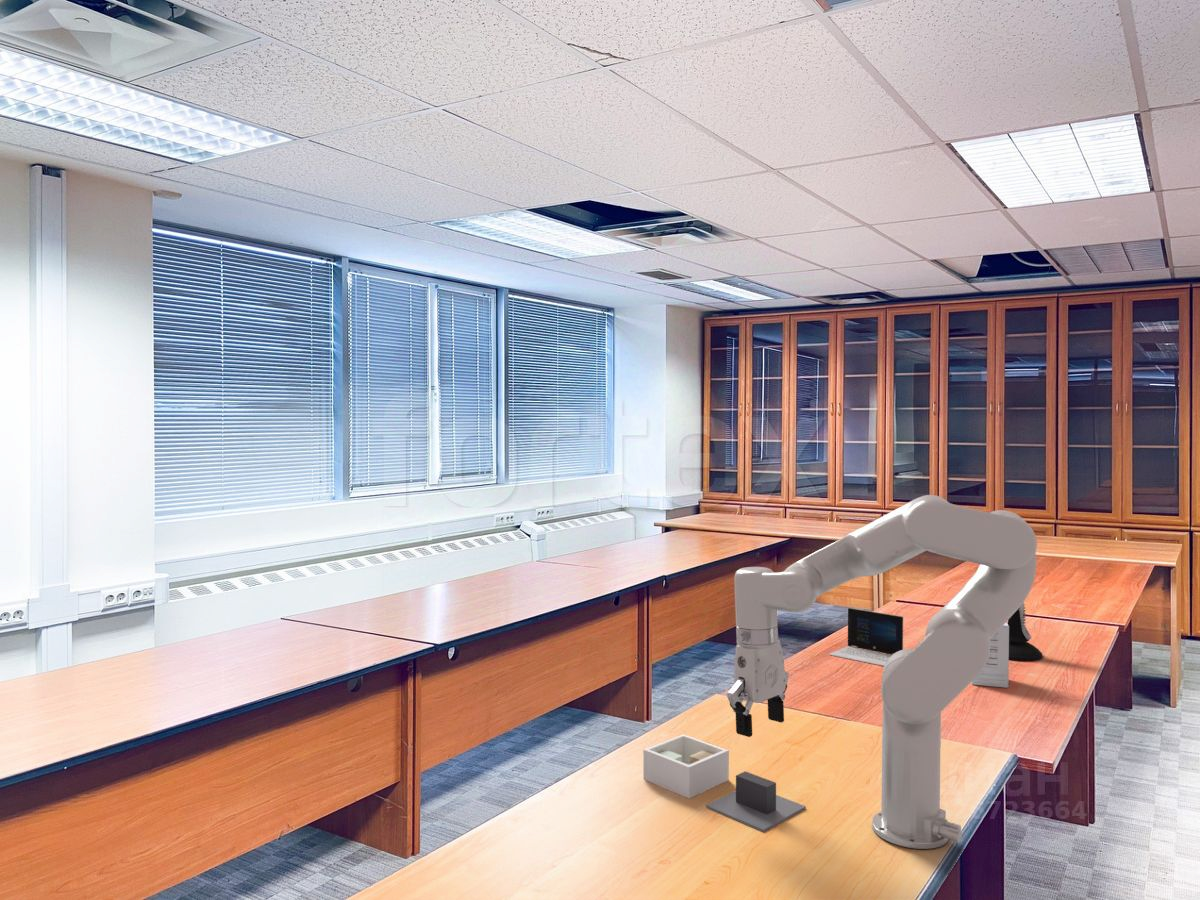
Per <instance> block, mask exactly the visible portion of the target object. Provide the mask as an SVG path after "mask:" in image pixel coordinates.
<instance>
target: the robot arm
mask: <svg viewBox="0 0 1200 900" xmlns="http://www.w3.org/2000/svg"><path fill="white" fill-rule="evenodd" d="M1037 547H1038V541H1037V537H1036V534H1035V531H1034V529H1033V528H1032V527H1031V526H1030V525H1029V523H1027V521H1026V520H1025V519H1024V518H1023V517H1021V516H1020V515H1018V514H1017V513H1015V512H1013V511H1011V510H1010V511H1009V510H1005V509H1003V510H1002V509H1001V510H1000V509H999V510H993V511H991V512H989V511H983V510H978V509H973V508H970V507H966V506H963V505H962V506H961V505H958V504H953V503H951V502H949V501H948V500H946V499H945V498H943V497H942V496H938V495H937V494H936V495H935V494H926V495H922V496H919V497H917V498H915V499H912V500H910V501H908V502H907V503H905V504H903V505H901V506H899V507H897V508H896V509H894V510H892V511H890V512H888V513H886V514H885V515H882V516H881V517H879V518H877V519H875V520H872V521H871V522H869V523H867V524H865V525H863V526H862V527H859V528H858V529H855V530H854V531H852V532H850V533H848V534H847V535H846V534H845V536H843V537H841V538H840V539H838V540H836V541H835V542H834V541H833V542H832V543H830V544H828V545H826V546H824V547H823V548H821V549H818V550H816V551H815V552H813V553H811V554H809V555H807V556H805V557H803V558H801V559H800V560H798V561H796V562H793V563H792V564H790V565H789V566H788V567H786V568H785V570H783V571H779V572H778V571H777V572H776V571H775V572H774V570H772V569H771V568H769V567H765V566H747V567H741V568H739V569H738V570H736V571H735V574H734V578H733V579H734V583H733V584H734V603H735V604H734V606H735V609H734V610H735V627H736V628H735V631H736V632H735V633H736V644H735V645H736V646H735V654H734V667H733V668H734V670H733V671H734V672H733V678H734V679H733V681H734V682H733V683H734V684H733V685H732V686H731V687H730V688H729V690H728V692H727V693H726V697H727V699H728V701H729V702H728V703H729V705H730V708H732V712H734V713H735V732H736V734H737V735H741V736H744V737H748V738H751V737H752V736H753V719H752V717H753V716H752V714H750V711H751V710H752V707H753V704H754V703H755V704H760V703H763V702H765V701H767V717H768V720H770V721H774V722H777V723H784V722H785V713H784V710H785V709H784V707H785V706H784V704H785V703H784V701H785V699H786V694H785V693H786V690H787V688H788V680H789V676H790V674H789V672H787V671H786V670H785V669H786V668H785V662H784V661H785V660H784V659H785V658H784V654H783V649H782V643H781V641H780V639H779V630H778V629H779V628H778V627H779V626H778V625H779V624H778V611H781V612H787V613H792V614H793V613H795V614H796V613H797V614H798V613H803V612H804V613H805V612H806V611H808V610H810V609H811V608H812V607H813V605H815V603H816V601H817V599H818V598H819V597H820V596H821V595H824V594H825V593H827V592H829V591H831V590H833V589H835V588H837V587H839V586H841V585H843V584H846V583H847V582H850V581H852V580H855V579H857V578H862V577H873V576H876V575H880V574H883V573H885V572H887V571H888V570H890V569H893V568H895V567H896V566H898V565H900V564H902V563H904V562H906V561H908V560H910V559H913V558H914V557H916V556H919V555H920V554H922V553H924V552H927V551H928V552H930V553H934V554H937V555H940V556H945V557H949V558H952V559H956V560H960V561H965V562H967V563H968V562H969V563H973V564H975V565H976V564H977V565H978V568H977V570H976V571H975V572H974V573H973V575H972V576H971V577H970V579H968V581H967V582H966V583H965V584H964V585H963V587H962V588H961V589H959V591H958V592H957V593H956V594H955V595H954V596H953V597H952V598H951V599H950V600H949V601H948V602H947V603H946V604H945V605H944V606H943V607H942V608H941V609H940V610H938V612H936V613H935V614H934V615H933V616H932V617H931V618H930V620H929V621H928V623H927V625H926V628H925V636H924V638H922V639H921V641H920V642H919V643H918V644H917V645H916V646H915V647H914V648H903V650H900V651H898V652H896V653H894V654H893V655H892V656H891V657H890V658H889V659H888V660H887V662H886V664H885V666H883V670H882V676H881V688H880V690H881V691H880V694H881V700H882V724H881V725H882V726H881V727H882V728H881V729H882V731H881V734H882V737H881V811H879V812H877V813H875V814H874V815H873V817H872V819H871V828H872V829H873V832H874V833H876V835H877V836H879V837H880V838H881V839H883V840H884V841H887V842H889V843H891V844H894V845H895V846H896V845H897V846H900V847H904V848H909V849H918V850H930V849H937V848H940V847H943V846H944V845H946V844H947V843H948V842H949V840H950V841H952V842H955V843H957V844H960V843H961V841H963V831H962V826H961V825H960V824H958V823H954V822H951V821H948V819H947V818H946V810H945V809H941V807H940V805H941V803H940V802H941V747H942V746H941V745H942V743H941V742H942V712H943V711H944V710H945V709H946V708H947V707H948V706H949V704H951V703H952V702H953V701H954V700H955V699H956V698H957V697H958V696H959V695H960V694H961V693H962V692H963V691H964V690H965V689H966V688H968V686H969V685H971V684H972V683H971V682H972V681H973V680H974V679H975V678H976V677H977V676H978V675H979V673H980V672H981V671H982V669H983V668H984V666H985V665H986V663H987V661H988V658H989V654H990V643H989V641H990V639H991V638H992V637H993V636H994V635H995V634H996V633H997V631H998V630H999V629H1000V628H1001V627H1002V626H1003V625H1004V624H1005V623H1006V622H1007V623H1008V619H1009V618H1010V617H1011V616H1012V615H1013V614H1014V613H1015V612H1016V611H1017V609H1018V608H1019V607H1020V606H1021V605H1022V603H1023V602H1024V603H1025V601H1026V599H1027V597H1028V596H1029V594H1030V592H1031V590H1032V588H1033V586H1034V581H1035V578H1036V571H1037V553H1036V551H1037ZM743 702H745V705H743Z"/></svg>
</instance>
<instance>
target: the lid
mask: <svg viewBox="0 0 1200 900" xmlns="http://www.w3.org/2000/svg"><path fill="white" fill-rule="evenodd" d="M806 807H807V806H806V805H804V804H800V803H798V802H797V801H792V800H790V799H788V798H785V797H783V796H780V795H777V782H775V781H772V780H770V779H767V778H764V777H762V776H759V775H757V774H753V773H751V772H748V771H746V770H745V771H743V772H740V773H738V774H736V775H735V790H734V791H733V792H730V793H728V794H727V795H724V796H722V797H719V798H717V799H715V800H714V801H712V802H710V803H708V804H705V808H706V809H709V810H711V811H713V812H715V813H718V814H721V815H723V816H725V817H727V818H729V819H732V820H735V821H737V822H738V823H742V824H744V825H746V826H747V827H751V828H753V829H755V830H758V831H760V832H762V833H765V832H767V831H768V830H771V829H772V828H774V827H776V826H778V825H779V824H781V823H783V822H784V821H786V820H788V819H790V818H792V817H794V816H796V815H797V814H799V813H801V812H802V811H804V810H806V809H807V808H806Z"/></svg>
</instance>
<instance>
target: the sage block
mask: <svg viewBox="0 0 1200 900" xmlns="http://www.w3.org/2000/svg"><path fill="white" fill-rule="evenodd" d="M659 754H662V755H665V756H667V757H670V758H672V759H675V760H677V761H680V762H683V756H682V755H679V754H676V753H674V752H671V751H669V750H667V751H664V752H662V753H659Z"/></svg>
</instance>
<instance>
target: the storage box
mask: <svg viewBox="0 0 1200 900" xmlns="http://www.w3.org/2000/svg"><path fill="white" fill-rule="evenodd" d="M667 750H669V751H671V752H674V753H676V754H679V755H682V756H683V762H680V761H677V760H675V759H672V758H670V757H667V756H665V755H662V754H659V753H662V752H664V751H667ZM700 751H705V752H708V753H711V754H713V755H711V756H709V757H706V758H704V759H701V760H699V761H697V762H694V763H692V764H690V756H691V755H693V754H695V753H698V752H700ZM729 751H730V750H729V749H726V748H723V747H720V746H718V745H715V744H711V743H709V742H706V741H704V740H700V739H698V738H695V737H692V736H690V735H687V734H684V733H683V734H680V735H678V736H674V737H672V738H670V739H667V740H665V741H662V742H659V743H657V744H654V745H652V746H648V747H647V748H644V749H643V780H645V781H647V782H650V783H652V784H654V785H657V786H659V787H661V788H664V789H665V790H668V791H671V792H673V793H676V794H678V795H679V796H682V797H685V798H687V799H692V798H693V797H695V796H698V795H699V794H702V793H704V792H706V791H708V790H710V789H712V788H714V787H717V786H719V785H721V784H723V783H725V782H727V781H729V780H730V775H729V773H730V769H729V768H730V766H729V765H730V764H729V763H730V761H729V760H730V755H729V754H730V752H729Z"/></svg>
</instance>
